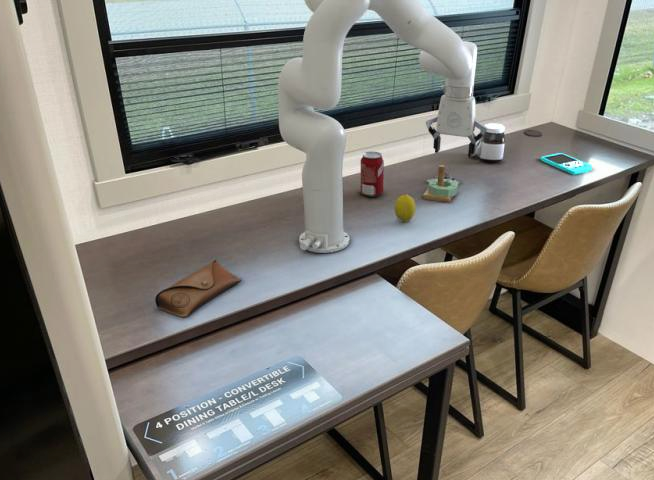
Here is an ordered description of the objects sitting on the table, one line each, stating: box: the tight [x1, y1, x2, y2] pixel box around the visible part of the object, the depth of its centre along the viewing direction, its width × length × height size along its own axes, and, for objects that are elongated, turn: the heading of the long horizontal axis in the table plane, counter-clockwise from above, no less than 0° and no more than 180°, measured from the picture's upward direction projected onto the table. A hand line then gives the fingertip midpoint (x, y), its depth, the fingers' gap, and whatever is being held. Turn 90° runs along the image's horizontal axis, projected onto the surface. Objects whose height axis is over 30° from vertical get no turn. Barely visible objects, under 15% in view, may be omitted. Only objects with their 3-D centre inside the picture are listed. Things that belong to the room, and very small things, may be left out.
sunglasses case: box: [154, 259, 242, 318], centre depth 129 cm, size 18×7×7 cm
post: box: [422, 164, 454, 203], centre depth 176 cm, size 8×8×9 cm
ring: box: [427, 178, 459, 197], centre depth 178 cm, size 8×8×2 cm
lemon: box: [394, 193, 416, 223], centre depth 161 cm, size 6×6×8 cm
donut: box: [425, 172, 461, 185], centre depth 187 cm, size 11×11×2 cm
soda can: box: [360, 151, 385, 198], centre depth 176 cm, size 7×7×12 cm
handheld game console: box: [540, 152, 593, 176], centre depth 204 cm, size 10×16×1 cm, turn 30°
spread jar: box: [471, 122, 506, 164], centre depth 204 cm, size 12×11×12 cm
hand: (453, 153), depth 171 cm, fingers open, 9 cm apart
